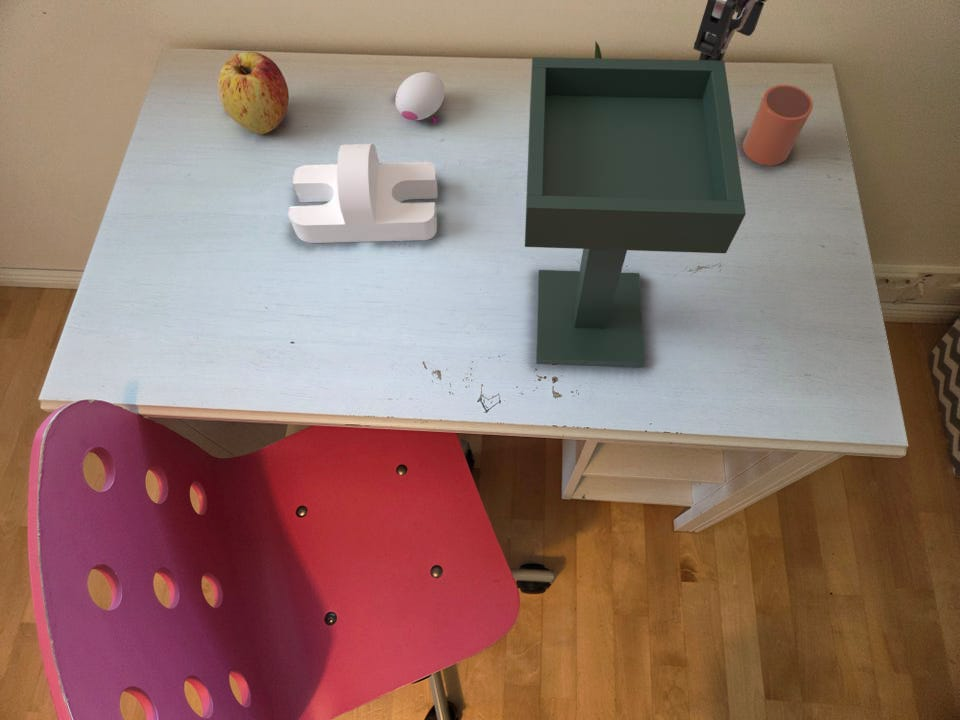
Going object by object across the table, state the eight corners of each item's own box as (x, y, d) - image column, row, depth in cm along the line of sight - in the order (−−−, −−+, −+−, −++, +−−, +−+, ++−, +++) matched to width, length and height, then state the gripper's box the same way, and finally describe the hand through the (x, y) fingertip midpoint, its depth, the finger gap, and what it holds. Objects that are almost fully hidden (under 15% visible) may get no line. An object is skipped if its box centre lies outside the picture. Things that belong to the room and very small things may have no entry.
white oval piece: (431, 109, 101) (409, 66, 98) (464, 105, 95) (442, 59, 92) (395, 138, 99) (371, 95, 95) (427, 135, 93) (402, 89, 89)
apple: (307, 131, 96) (287, 72, 87) (246, 155, 94) (219, 98, 85) (283, 90, 100) (262, 29, 91) (224, 113, 98) (196, 53, 89)
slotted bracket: (294, 243, 87) (271, 191, 78) (302, 184, 92) (281, 128, 83) (436, 239, 87) (429, 187, 78) (437, 180, 91) (431, 124, 82)
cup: (775, 127, 94) (797, 79, 87) (797, 159, 91) (822, 112, 84) (734, 138, 93) (754, 90, 86) (755, 170, 90) (777, 124, 83)
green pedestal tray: (653, 265, 84) (724, 60, 57) (661, 384, 77) (746, 213, 50) (522, 260, 85) (532, 56, 58) (517, 378, 78) (526, 207, 51)
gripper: (780, -47, 57) (724, 107, 71) (851, -130, 62) (785, 30, 76) (698, -77, 59) (661, 78, 74) (773, -155, 64) (724, 5, 79)
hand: (724, 53), depth 75 cm, fingers open, 8 cm apart
